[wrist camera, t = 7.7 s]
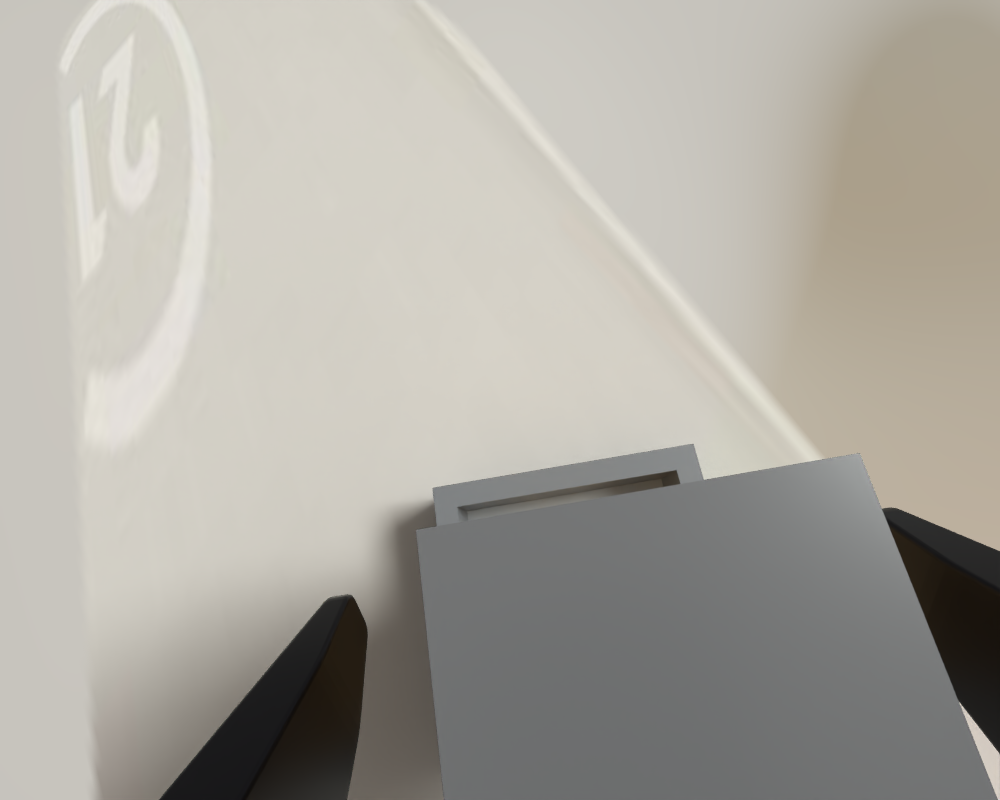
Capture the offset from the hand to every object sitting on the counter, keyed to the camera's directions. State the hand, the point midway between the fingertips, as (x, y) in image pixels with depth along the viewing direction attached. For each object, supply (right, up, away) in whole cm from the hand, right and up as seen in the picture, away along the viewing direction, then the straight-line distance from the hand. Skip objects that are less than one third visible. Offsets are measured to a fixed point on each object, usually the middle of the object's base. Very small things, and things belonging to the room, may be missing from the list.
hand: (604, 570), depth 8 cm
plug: (+1, -4, +7) cm, 8 cm away
